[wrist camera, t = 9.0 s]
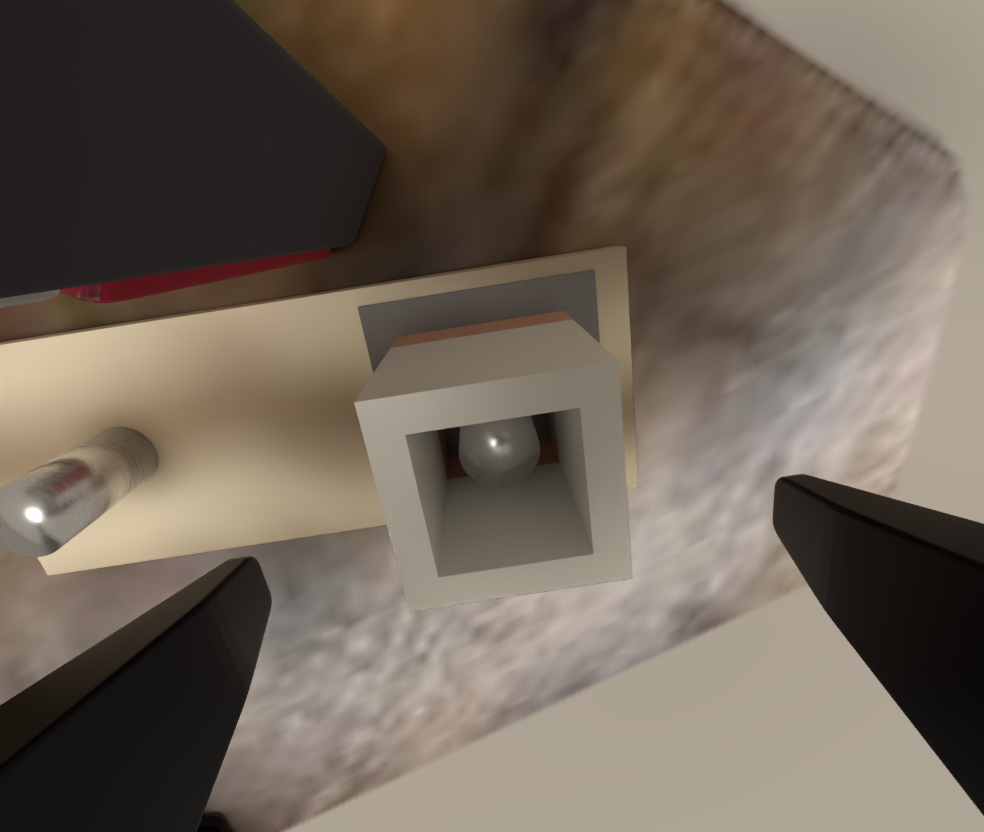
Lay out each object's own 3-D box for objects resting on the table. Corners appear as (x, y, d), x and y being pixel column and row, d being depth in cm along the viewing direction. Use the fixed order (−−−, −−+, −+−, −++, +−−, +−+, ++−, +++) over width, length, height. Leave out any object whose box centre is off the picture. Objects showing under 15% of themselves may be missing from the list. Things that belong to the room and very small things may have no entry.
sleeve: (578, 460, 17) (632, 578, 11) (430, 482, 17) (409, 611, 11) (563, 310, 15) (619, 361, 9) (397, 336, 15) (354, 402, 9)
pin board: (629, 473, 18) (639, 490, 17) (68, 557, 19) (43, 579, 17) (616, 245, 15) (628, 246, 14) (-45, 349, 16) (-84, 358, 15)
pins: (527, 423, 16) (544, 481, 13) (109, 486, 17) (3, 562, 13) (519, 364, 16) (535, 407, 12) (82, 431, 16) (-38, 494, 12)
